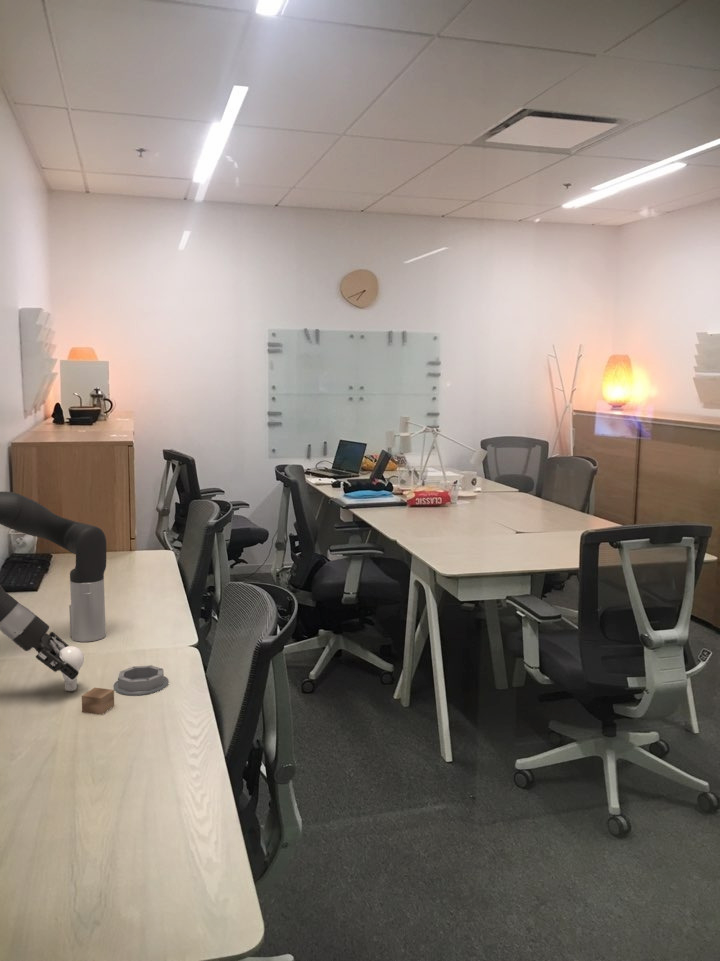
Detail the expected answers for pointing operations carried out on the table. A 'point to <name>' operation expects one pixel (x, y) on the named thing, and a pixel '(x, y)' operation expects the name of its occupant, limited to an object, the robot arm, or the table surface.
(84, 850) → the table surface
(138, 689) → the socket collar
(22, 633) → the robot arm
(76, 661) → the lightbulb
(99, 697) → the walnut block
